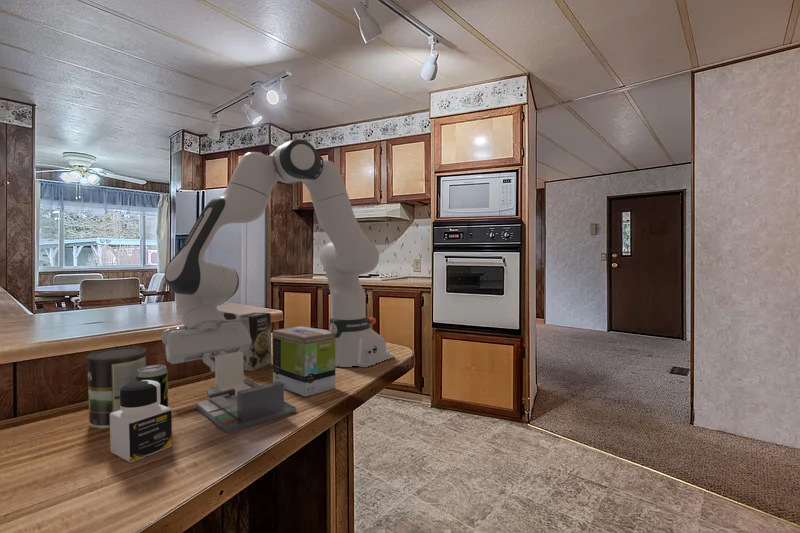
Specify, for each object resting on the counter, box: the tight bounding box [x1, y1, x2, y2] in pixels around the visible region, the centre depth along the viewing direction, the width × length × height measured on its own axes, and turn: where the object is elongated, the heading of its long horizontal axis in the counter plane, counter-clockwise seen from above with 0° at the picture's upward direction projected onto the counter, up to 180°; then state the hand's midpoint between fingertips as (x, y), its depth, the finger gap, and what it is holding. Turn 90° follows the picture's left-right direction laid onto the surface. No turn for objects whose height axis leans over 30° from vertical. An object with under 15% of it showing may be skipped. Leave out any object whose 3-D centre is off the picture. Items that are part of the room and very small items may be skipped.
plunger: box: [209, 352, 252, 400], centre depth 93 cm, size 10×9×10 cm
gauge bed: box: [194, 378, 297, 434], centre depth 92 cm, size 15×18×7 cm
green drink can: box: [136, 364, 170, 408], centre depth 82 cm, size 5×5×12 cm
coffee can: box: [86, 346, 147, 430], centre depth 87 cm, size 10×10×14 cm
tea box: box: [272, 325, 337, 398], centre depth 108 cm, size 15×10×15 cm
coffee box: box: [239, 312, 272, 372], centre depth 126 cm, size 9×6×16 cm
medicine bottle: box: [109, 380, 173, 463], centre depth 73 cm, size 7×7×12 cm
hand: (218, 369), depth 102 cm, fingers closed
